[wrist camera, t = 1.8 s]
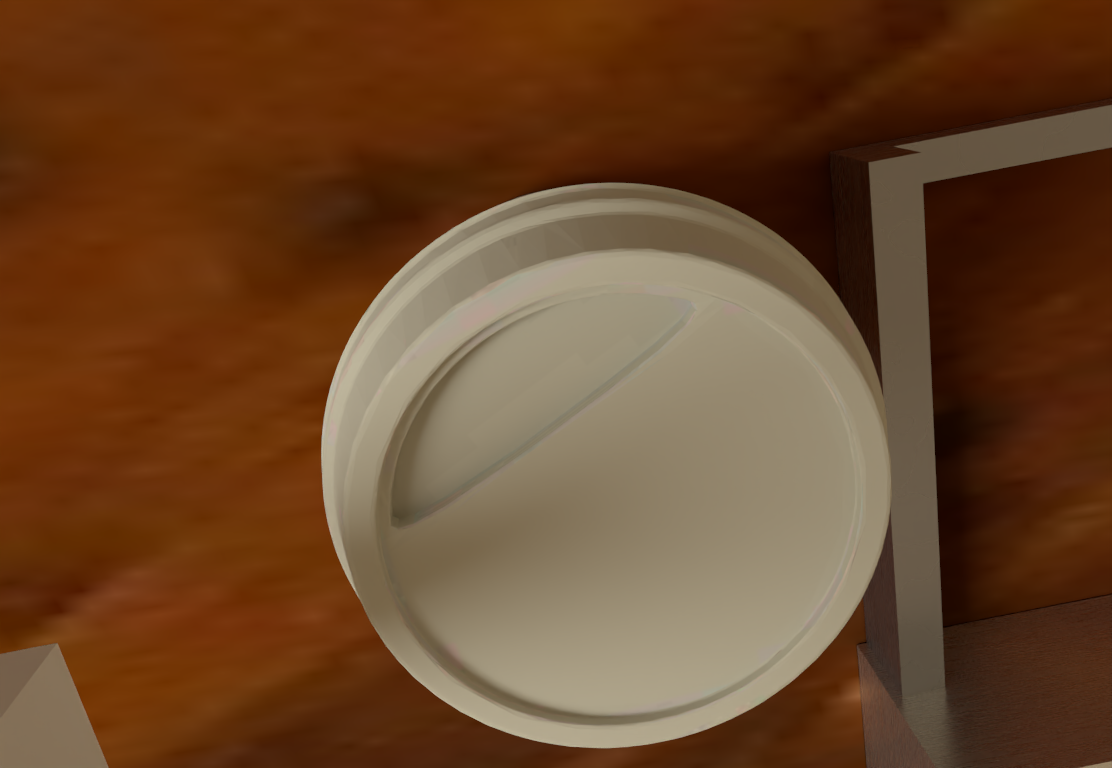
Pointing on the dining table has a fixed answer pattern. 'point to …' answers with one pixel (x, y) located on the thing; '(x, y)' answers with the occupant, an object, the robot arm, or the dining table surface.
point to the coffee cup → (607, 465)
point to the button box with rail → (912, 535)
